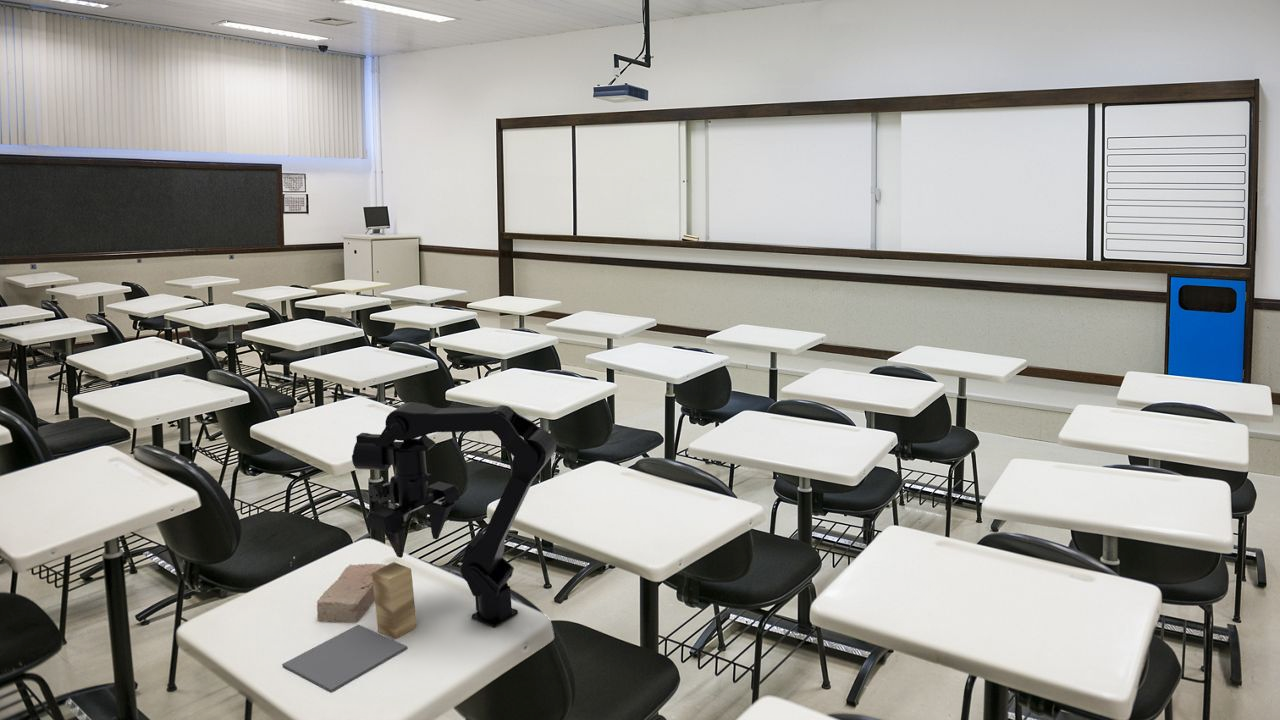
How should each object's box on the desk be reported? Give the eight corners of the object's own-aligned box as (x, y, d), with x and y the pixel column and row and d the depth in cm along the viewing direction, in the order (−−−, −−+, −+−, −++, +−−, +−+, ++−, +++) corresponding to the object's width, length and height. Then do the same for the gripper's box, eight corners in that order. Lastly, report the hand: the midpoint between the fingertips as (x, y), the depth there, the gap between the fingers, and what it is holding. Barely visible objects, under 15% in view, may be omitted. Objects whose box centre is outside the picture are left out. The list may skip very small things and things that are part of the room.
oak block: (417, 626, 171) (412, 568, 168) (395, 639, 167) (389, 579, 164) (400, 619, 174) (394, 561, 171) (378, 631, 170) (371, 572, 167)
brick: (357, 624, 173) (355, 601, 172) (315, 623, 174) (313, 600, 173) (390, 584, 189) (388, 563, 188) (351, 583, 190) (349, 562, 189)
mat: (407, 648, 163) (407, 646, 163) (331, 692, 151) (331, 689, 151) (358, 626, 171) (358, 624, 171) (282, 666, 159) (282, 664, 159)
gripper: (417, 449, 182) (423, 522, 186) (341, 479, 167) (350, 557, 170) (458, 458, 176) (464, 533, 180) (383, 489, 161) (392, 570, 164)
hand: (418, 547), depth 174 cm, fingers open, 9 cm apart
